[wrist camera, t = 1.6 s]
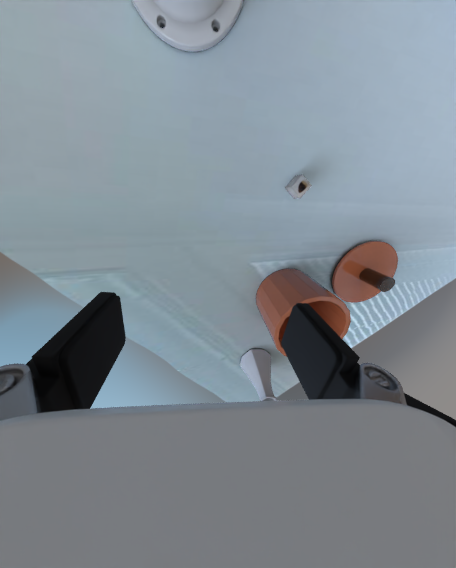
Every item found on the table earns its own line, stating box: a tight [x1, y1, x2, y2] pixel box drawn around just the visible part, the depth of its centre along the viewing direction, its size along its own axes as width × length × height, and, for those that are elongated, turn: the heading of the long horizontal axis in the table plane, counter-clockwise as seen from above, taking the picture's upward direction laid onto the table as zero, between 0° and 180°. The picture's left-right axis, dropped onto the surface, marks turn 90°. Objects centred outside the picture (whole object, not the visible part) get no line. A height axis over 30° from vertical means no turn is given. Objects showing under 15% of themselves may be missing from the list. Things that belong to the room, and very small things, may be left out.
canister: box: [256, 269, 351, 356], centre depth 31 cm, size 11×12×10 cm
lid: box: [332, 241, 398, 302], centre depth 33 cm, size 12×12×6 cm
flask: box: [240, 349, 277, 401], centre depth 38 cm, size 7×7×10 cm
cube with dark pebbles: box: [285, 174, 312, 198], centre depth 26 cm, size 2×2×2 cm
